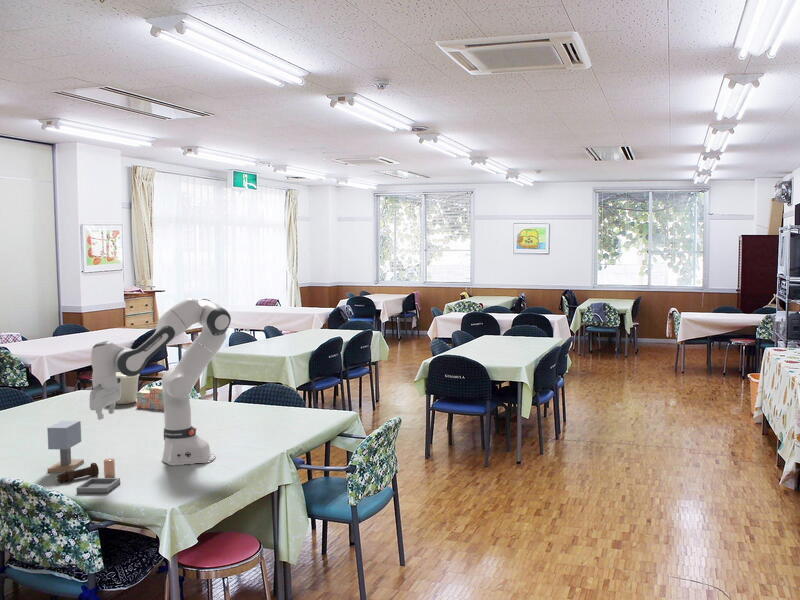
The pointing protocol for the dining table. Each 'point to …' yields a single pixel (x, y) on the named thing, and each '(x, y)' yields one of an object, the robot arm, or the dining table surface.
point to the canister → (128, 388)
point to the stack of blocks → (150, 398)
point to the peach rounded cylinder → (109, 468)
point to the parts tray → (98, 486)
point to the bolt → (78, 473)
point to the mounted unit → (64, 444)
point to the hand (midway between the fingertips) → (106, 416)
